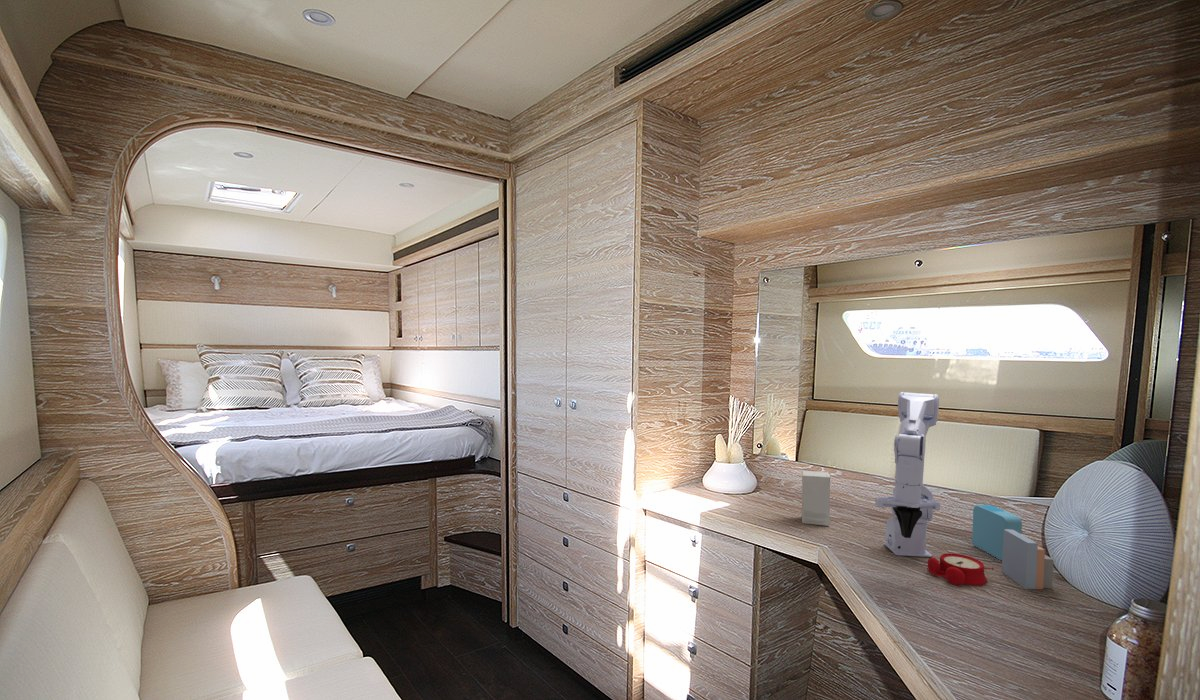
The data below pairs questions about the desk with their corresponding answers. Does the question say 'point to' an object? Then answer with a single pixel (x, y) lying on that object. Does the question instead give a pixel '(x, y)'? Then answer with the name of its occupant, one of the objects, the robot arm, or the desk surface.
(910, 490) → the robot arm
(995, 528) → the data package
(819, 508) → the skincare box
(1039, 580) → the book row
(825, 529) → the desk surface
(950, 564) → the alarm clock
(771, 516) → the desk surface
